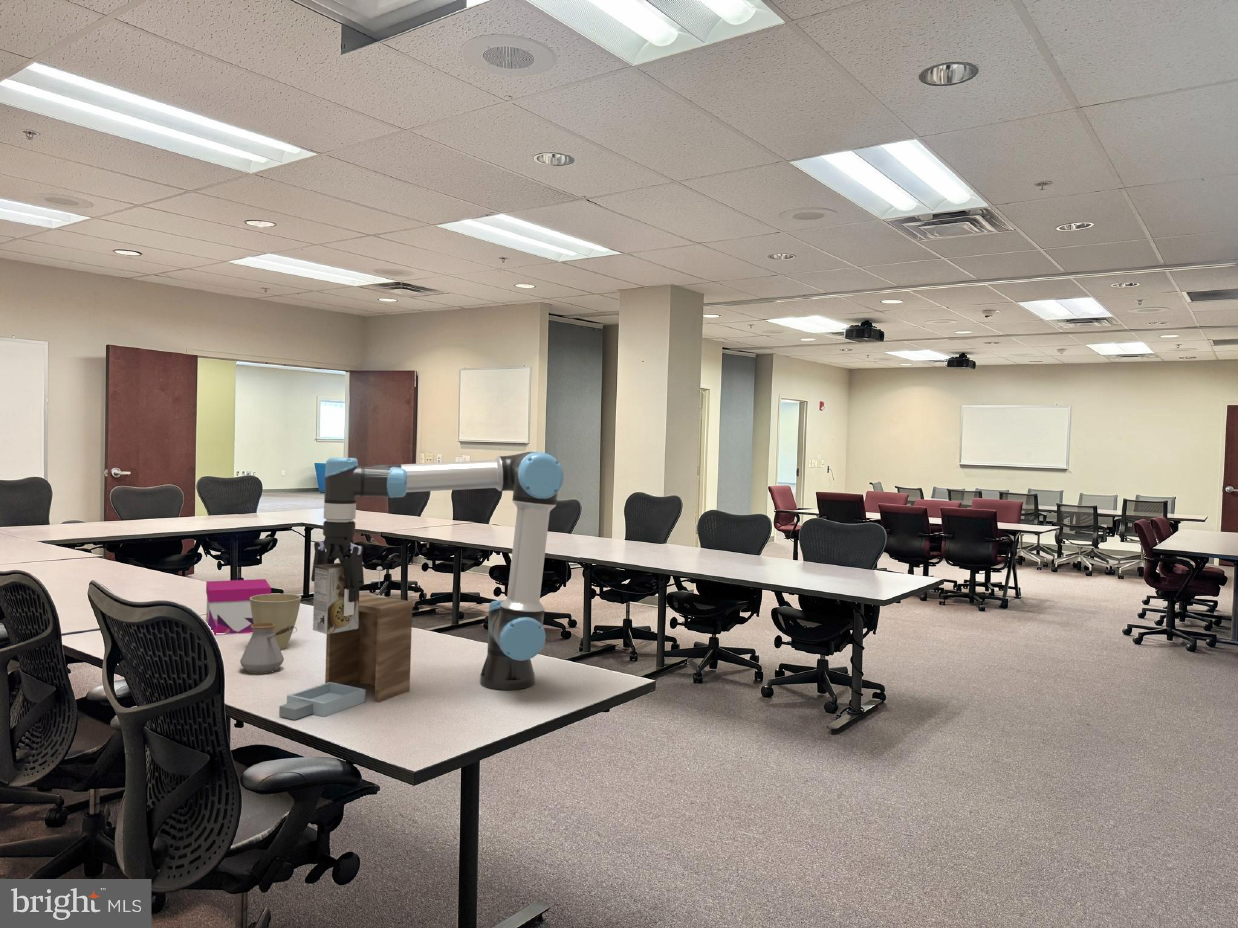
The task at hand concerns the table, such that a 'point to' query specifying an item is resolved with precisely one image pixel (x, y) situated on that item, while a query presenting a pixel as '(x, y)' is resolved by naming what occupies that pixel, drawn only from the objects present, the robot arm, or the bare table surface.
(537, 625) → the robot arm
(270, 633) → the coffee pot
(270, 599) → the plant pot
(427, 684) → the table surface
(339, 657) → the wooden cubby shelf
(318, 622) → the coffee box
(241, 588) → the decorative box
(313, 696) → the tray
